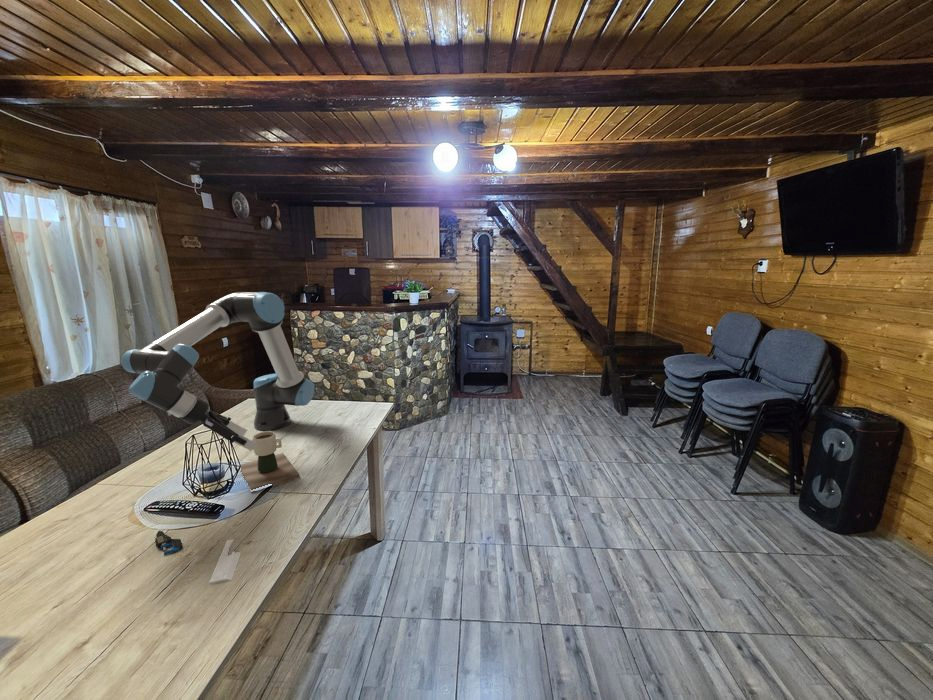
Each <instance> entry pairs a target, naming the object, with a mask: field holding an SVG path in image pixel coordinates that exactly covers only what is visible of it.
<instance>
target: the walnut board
mask: <svg viewBox="0 0 933 700" xmlns="http://www.w3.org/2000/svg"><path fill="white" fill-rule="evenodd" d="M275 457H276V460H277V465H278V466H277V467H276V468H275V469H273V470H272V471H269V472H259V471H258V459H257V460H253V461H249V462H244V463H242V464H240V465H241V471H240V473H241V472H242V473H241V475H242V474H243V475H242V477H243V476H244V477H243V479H244V478H245V479H244V481H245V480H246V481H245V483H246V482H247V483H248V486H249V487H250V489H251V490H253V489H256V488H259V487H262V486H265V485H268V484H272V485H275V486H278V485H281V484H284V483H287V482H290V481H294V480H296V479H299V478H300V473H299V472H298V470H297V469H296V468H295V466H294V465H293V464H292V462H291V461H290V459H288V457H287V455H285V453H284V452H281V453H277V454H275ZM247 483H246V484H247ZM248 486H247V487H248Z"/></svg>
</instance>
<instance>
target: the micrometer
mask: <svg viewBox="0 0 933 700" xmlns="http://www.w3.org/2000/svg"><path fill="white" fill-rule="evenodd" d="M155 535H156V536H155V539H154V543H155V545H156V547H157V549H158V550H162V551H163V555H164V556H165V555H169V554H172V553H173V554H174V553H177V552H179V551H180V550H182V549H183V542H182V540H181V538H172V537H171V536H169V535H167V534H165V532H164V531H162V530H158V531H157V532H156V534H155ZM169 547H172V548H171V549H168V550H167V548H169ZM159 548H160V549H159Z"/></svg>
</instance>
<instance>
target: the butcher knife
mask: <svg viewBox="0 0 933 700" xmlns="http://www.w3.org/2000/svg"><path fill="white" fill-rule="evenodd" d="M233 541H234V542H235V539H228V540H226V541H225V544H224V547H223V549H222V552H221V554H220V556H219V558H218V560H217V563H216V565H215V568H214V570H213V571H212V575H211V577H210V579H209V582H208V584H209V585H212V584H217V583H222V582H228V581H231V580H233V576H234V574H235V571H236V567H237V564H238V562H239V558H240V556H241V553H242V552H241V551H239V552H238V551H237V552H235V551H231V554H229V552H230V548H231V547H232V545H233V543H234V542H233Z"/></svg>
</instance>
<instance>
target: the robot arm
mask: <svg viewBox="0 0 933 700" xmlns="http://www.w3.org/2000/svg"><path fill="white" fill-rule="evenodd" d="M285 310H286V308H285V304H284V302H283V301H282V299H281V297H279V296H278V295H277V294H276V293H275V294H274V293H272V292H266V291H259V292H258V291H257V292H255V291H254V292H253V291H250V292H249V291H235V292H232V293H229V294H226V295H225V296H222V297H221V298H219V299H216V300H214V301H213V302H211V303H210V304H207V305H206V307H205V310H204V311H202V312H200V313H199V314H197V315H195V316H193V317H192V318H191V319H189V320H187V321H186V322H184V323H183V324H181V325H179V326H177V327H176V328H174V329H172V330H171V331H169V332H168V333H166V334H163V336H161V337H159V338H157V339H156V340H154V341H153V342H151V343H149V344H147V345H146V346H144V347H142V348H136V349H130V350H127V351H125V353H123V354H122V357H121V360H120V363H121V367H122V368H123V369H124V370H125V371H126V372H128V373H132V374H137V375H138V376H137V377H136V379H134V380H133V382H132V383H131V384H130V386H129V388H128V391H129V393H130V394H132V395H133V396H135V397H137V398H138V399H140V400H142V401H143V402H146V403H147V404H149V405H152V406H154V407H156V408H159V409H160V410H162V411H165V412H166V413H167V415H168V416H172V415H173V416H174V417H176V418H178V419H179V418H180V419H181V421H184V422H186V423H188V424H190V425H196V423H198V422H199V421H200V422H201V423H202V425H203V426H204V427H205V428H208V429H209V430H211V431H212V432H214V433H215V434H217V435H219V436H220V437H222V438H223V439H225V440H226V441H228V442H229V444H231V445H233V443H235V444H236V445H239V446H240V447H243V448H244V449H247V450H248V451H250V452H251V451H252V450H254V449H253V448H254V447H255V445H256V444H257V443H255V442H253V441H252V440H253V439H252V440H251V439H249V438H248V437H246V436H245V434H246V433H247V432H248V429H247V428H245V427H243V426H241V425H240V424H237V423H235V422H234V421H231V420H232V418H231V417H230V416H228V417H227V416H224V415H222V414H220V413H218V412H215V411H213V410H210V409H209V406H210V405H209V403H208V402H206V401H204V400H203V399H202V398H197V396H196V395H194V394H192V393H191V392H189V391H187V390H185V389H183V388H181V387H179V386H180V385H181V383H182V382H183V381H184V379H185V378H186V377H187V375H188V374H189V373H190V372H191V371H192V369H193V368H194V367H195V365H196V363H197V361H198V360H199V358H200V354H199V352H198V351H196V349H195V348H193V347H192V346H193V345H195V344H197V343H198V342H199V341H201V340H203V339H204V338H206V337H207V336H208V335H210V334H212V333H213V332H214V331H217V329H219V328H225V327H227V326H229V325H230V324H233V323H238V322H239V323H241V322H242V323H249V326H250V328H251V331H252V332H255V333H258V335H259V338H260V341H261V342H262V345H263V347H264V349H265V351H266V354H267V356H268V358H269V361H270V362H271V365H272V367H273V370H274V372H275V373H269V374H265V375H262V376H259V377H257V378H255V379H254V380H253V392H254V400H255V401H254V402H255V407H256V411H255V417H254V419H253V427H254V429H255V430H257V431H273V430H277V429H281V428H285V427H286V426H288V425H289V424H290V423H291V416H290V414H289V412H288V410H287V408H286V405H287V406H296V407H305V406H306V405H308V404H309V403H310V402H311V401H312V399H313V397H314V394H315V384H314V382H313V381H312V380H310V379H306V376H305V375H304V373H303V371H301V370H299V369H298V367H297V364H296V361H295V358H294V357H293V353H292V352H291V349H290V346H289V344H288V342H287V339H286V336H285V334H284V330H283V329H282V326H281V325H282V324H283V319H284V317H285V314H286V312H285ZM229 440H230V441H229ZM230 442H231V443H230Z"/></svg>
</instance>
